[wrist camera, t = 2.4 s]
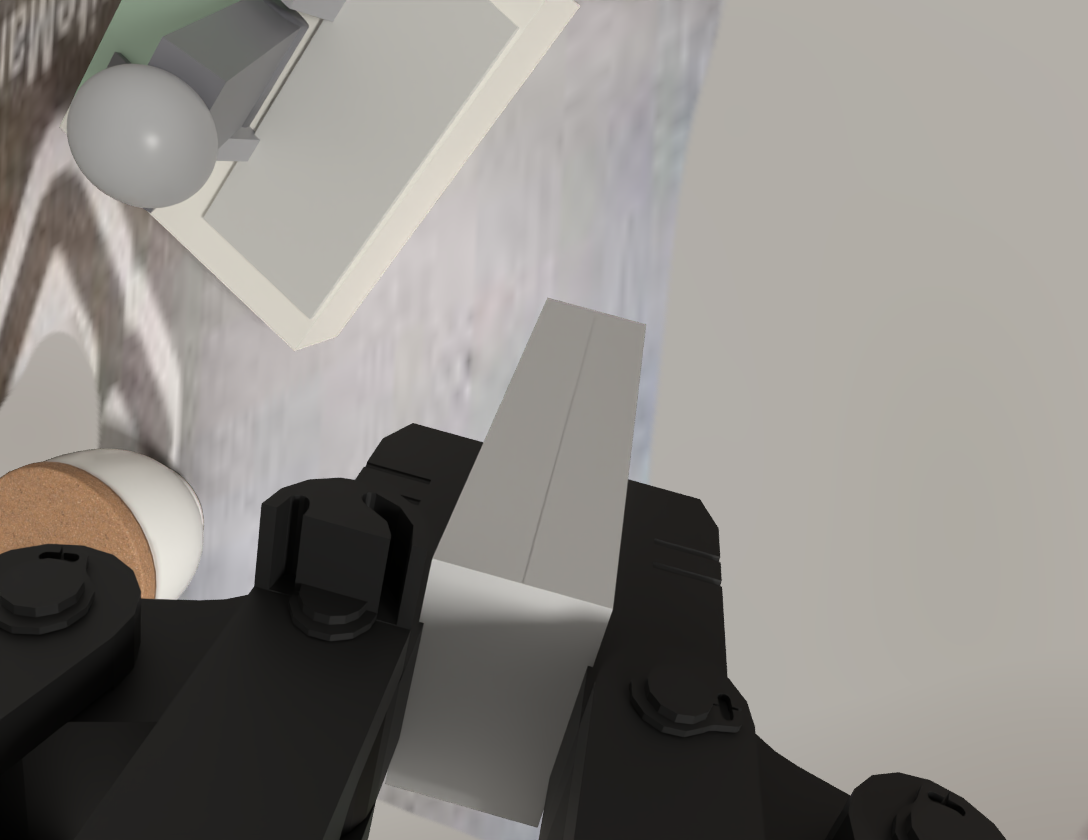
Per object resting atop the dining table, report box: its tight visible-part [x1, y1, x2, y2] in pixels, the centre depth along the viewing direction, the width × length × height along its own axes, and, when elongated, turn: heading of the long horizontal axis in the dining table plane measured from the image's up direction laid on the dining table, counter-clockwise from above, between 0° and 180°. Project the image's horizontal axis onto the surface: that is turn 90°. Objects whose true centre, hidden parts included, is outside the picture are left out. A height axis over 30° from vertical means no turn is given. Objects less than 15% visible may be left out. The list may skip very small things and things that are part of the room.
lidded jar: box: [0, 448, 204, 600], centre depth 48 cm, size 11×11×9 cm
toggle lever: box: [67, 0, 309, 213], centre depth 31 cm, size 4×5×16 cm
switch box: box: [59, 0, 580, 351], centre depth 38 cm, size 16×20×8 cm
